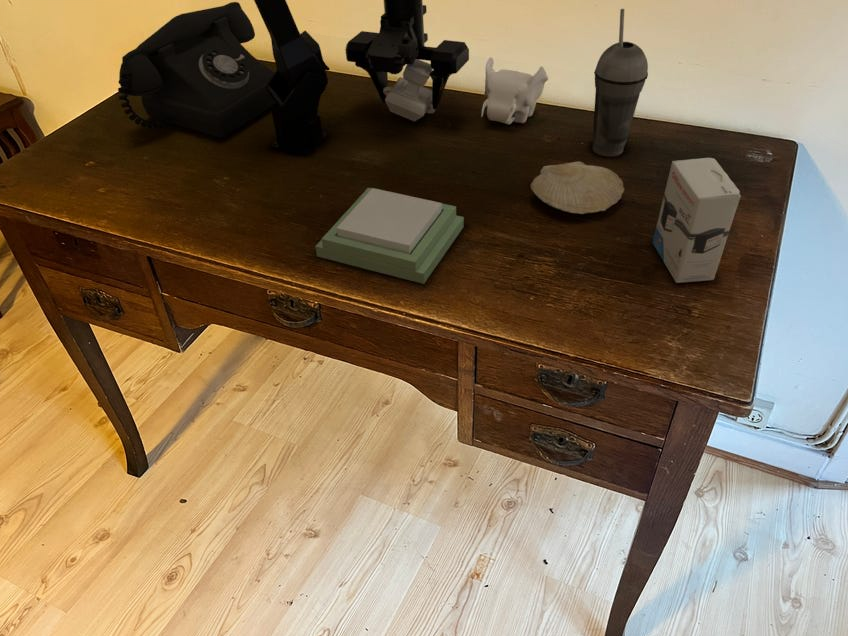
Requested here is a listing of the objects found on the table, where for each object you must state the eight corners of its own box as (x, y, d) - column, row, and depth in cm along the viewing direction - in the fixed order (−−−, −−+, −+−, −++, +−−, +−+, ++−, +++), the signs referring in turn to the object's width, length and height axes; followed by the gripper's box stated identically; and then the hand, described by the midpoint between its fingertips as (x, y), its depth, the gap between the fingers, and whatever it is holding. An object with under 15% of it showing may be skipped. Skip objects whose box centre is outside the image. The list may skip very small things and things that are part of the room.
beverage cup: (633, 162, 107) (662, 20, 93) (582, 159, 108) (603, 18, 94) (632, 138, 112) (659, 0, 98) (583, 135, 113) (603, -2, 99)
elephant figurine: (465, 128, 116) (466, 73, 110) (497, 98, 123) (500, 44, 117) (521, 141, 113) (525, 85, 106) (550, 109, 120) (556, 54, 114)
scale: (316, 256, 94) (313, 237, 92) (363, 204, 102) (361, 185, 100) (424, 284, 89) (423, 264, 87) (463, 227, 97) (464, 207, 95)
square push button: (337, 238, 92) (336, 227, 91) (373, 197, 98) (372, 187, 97) (409, 255, 89) (409, 245, 88) (441, 213, 95) (441, 202, 94)
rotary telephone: (235, 69, 137) (218, -17, 126) (310, 87, 130) (298, -2, 119) (111, 140, 119) (79, 46, 108) (190, 165, 112) (164, 68, 101)
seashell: (596, 233, 95) (599, 214, 93) (515, 206, 100) (517, 188, 98) (631, 192, 101) (635, 173, 99) (554, 169, 106) (556, 151, 104)
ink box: (650, 242, 93) (670, 158, 84) (688, 239, 93) (712, 155, 85) (674, 284, 87) (698, 198, 78) (715, 281, 87) (743, 194, 79)
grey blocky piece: (435, 113, 122) (451, 67, 116) (425, 132, 117) (441, 85, 111) (385, 92, 122) (399, 45, 116) (373, 110, 117) (387, 62, 111)
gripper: (321, 17, 106) (335, 119, 117) (439, 29, 99) (443, 136, 110) (357, -9, 113) (367, 90, 124) (470, 1, 106) (470, 104, 117)
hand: (409, 105), depth 119 cm, fingers closed on grey blocky piece, 9 cm apart
